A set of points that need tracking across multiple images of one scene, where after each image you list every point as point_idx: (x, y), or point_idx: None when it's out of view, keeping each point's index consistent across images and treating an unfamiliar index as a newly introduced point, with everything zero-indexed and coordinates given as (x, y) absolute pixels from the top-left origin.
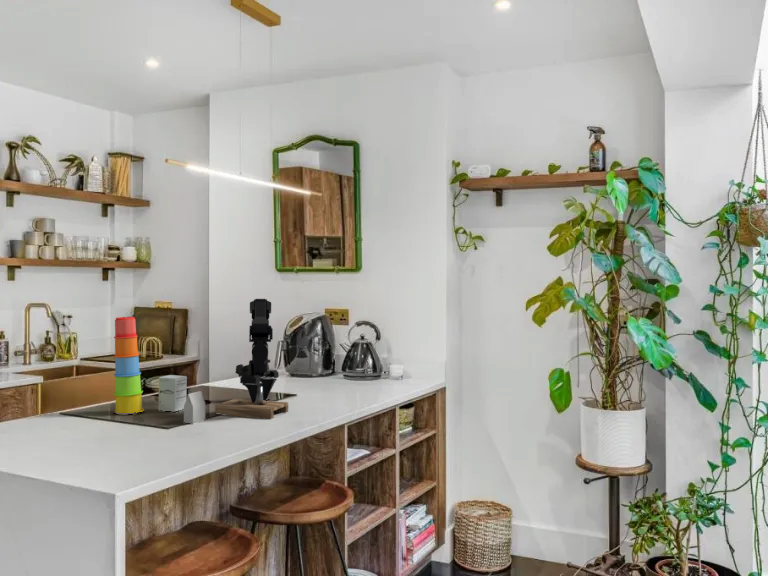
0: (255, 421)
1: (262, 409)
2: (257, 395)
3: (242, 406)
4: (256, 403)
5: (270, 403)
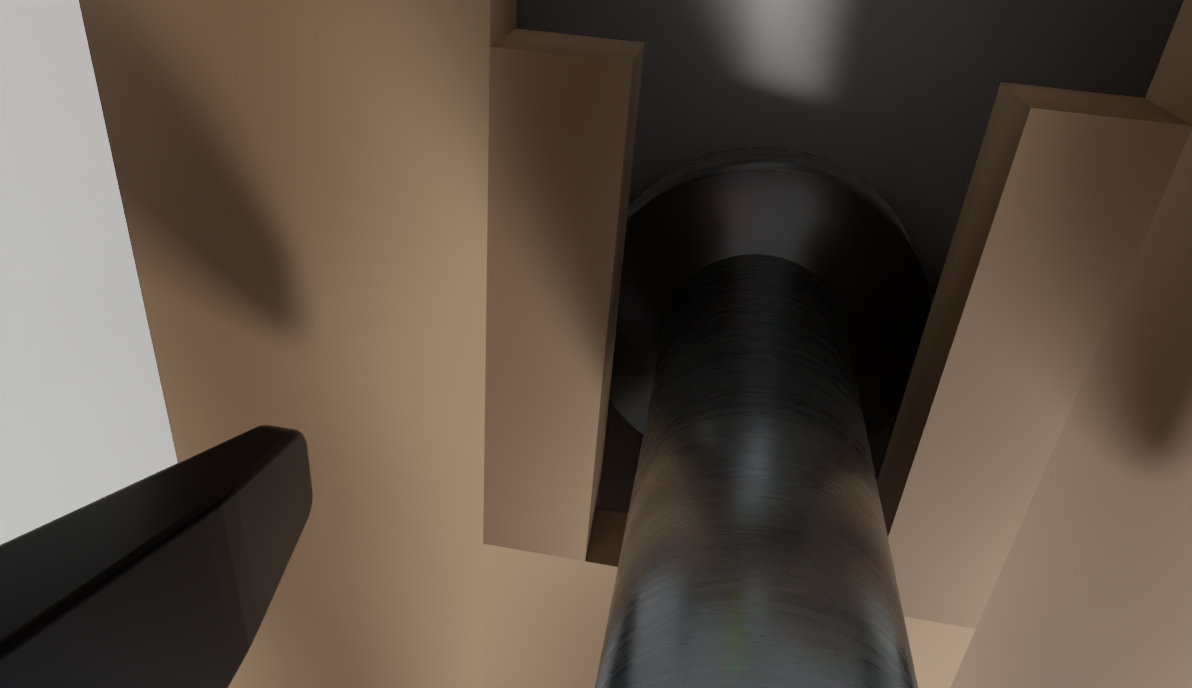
0: (53, 445)
1: None
2: (608, 653)
3: (172, 58)
4: (667, 398)
5: (920, 676)
